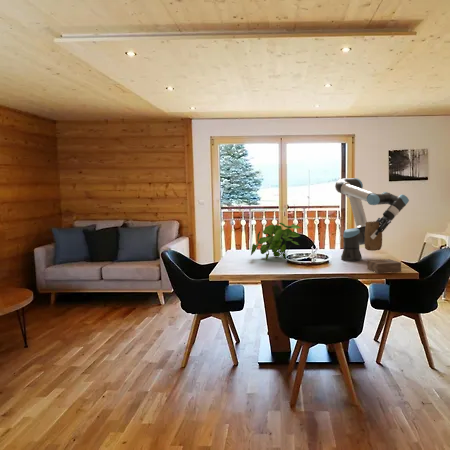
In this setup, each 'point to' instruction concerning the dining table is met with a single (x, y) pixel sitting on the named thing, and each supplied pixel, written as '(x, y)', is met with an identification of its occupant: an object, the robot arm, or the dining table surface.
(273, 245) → the indoor plant
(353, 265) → the dining table surface
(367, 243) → the block
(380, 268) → the block
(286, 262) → the dining table surface
